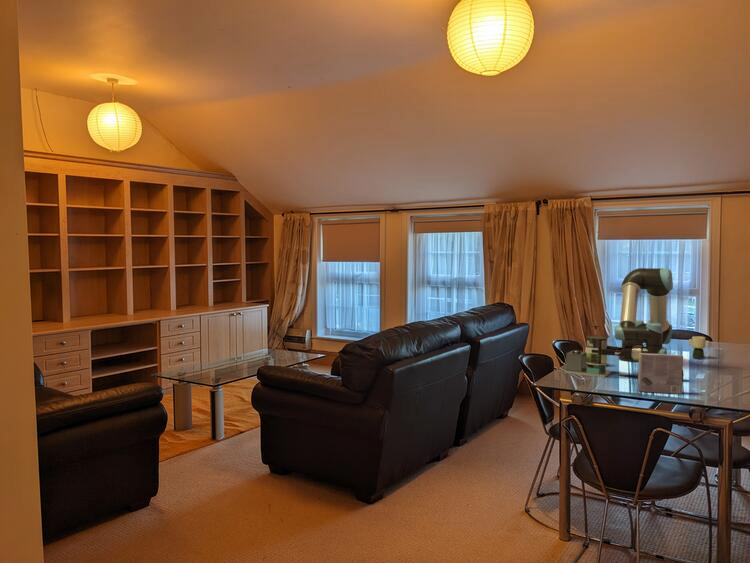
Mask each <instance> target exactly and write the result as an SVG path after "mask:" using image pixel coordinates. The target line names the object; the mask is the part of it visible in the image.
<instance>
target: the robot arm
mask: <svg viewBox="0 0 750 563" xmlns="http://www.w3.org/2000/svg"><path fill="white" fill-rule="evenodd" d="M620 288H621V292H622V297H621V298H622V299H621V300H622V301H621V311H620V320H619V325H615V327H614V338H615V340H617V341H618V340H619V341H621V346H613V345H608V344H607V349H600V348H587V347H585V351H584V352H585V353H593V354H599V355H607V356H614V357H615V356H616V357H618V360H620V361H624V362H635V363H639V353H648V354H666V355H668V349H667V348H666V347H664V346H663V345H668V344H670V343H671V339H672V334H673V325H672V324H671V323H670V322H669V321H668V320H667V317H668V314H667V310H668V309H667V308H668V303H667V301H668V295H669V293H670V291H672V290H673V289H674V283H673V272H672V271H671V269H670V268H664V267H660V268H658V267H655V268H651V267H649V268H648V267H645V268H644V267H641V268H640V267H639V268H635V269H633V270H631V271H629V272H628V273H627V275H625V277H624V278H623V280H622V283H621V287H620ZM641 290H646V292H647V294H649V320H648V321H647V323H645V321H644V320H640V319H639V320H637V312H638V299H639V293H640V292H641ZM644 344H645V345H644Z"/></svg>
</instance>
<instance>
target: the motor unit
mask: <svg viewBox="0 0 750 563" xmlns="http://www.w3.org/2000/svg"><path fill="white" fill-rule="evenodd" d="M565 355H566V356H565V369H564V370H563V373H564V372H565V373H564V374H570V373H573V374H572V375H581V376H589V377H598V378H607V377H608V376H609V375H611V374H612V370H610V369H609V370H608V369H607V368H606V367H607V364H606V365H594V368H592V367H587V363H586V359H587V353H585V351H581V350H579V349H578V350H577V349H575V350H571V351H569V352H566V353H565Z"/></svg>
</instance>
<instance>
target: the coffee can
mask: <svg viewBox="0 0 750 563" xmlns="http://www.w3.org/2000/svg"><path fill="white" fill-rule="evenodd" d="M607 345H608V336H602V335H597V336H592V335H587V336H586V348H600V349H607ZM607 358H608V355H599V354H593V353H587V359H586V363H587V364H591V365H606V366H607V362H608V359H607Z"/></svg>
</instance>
